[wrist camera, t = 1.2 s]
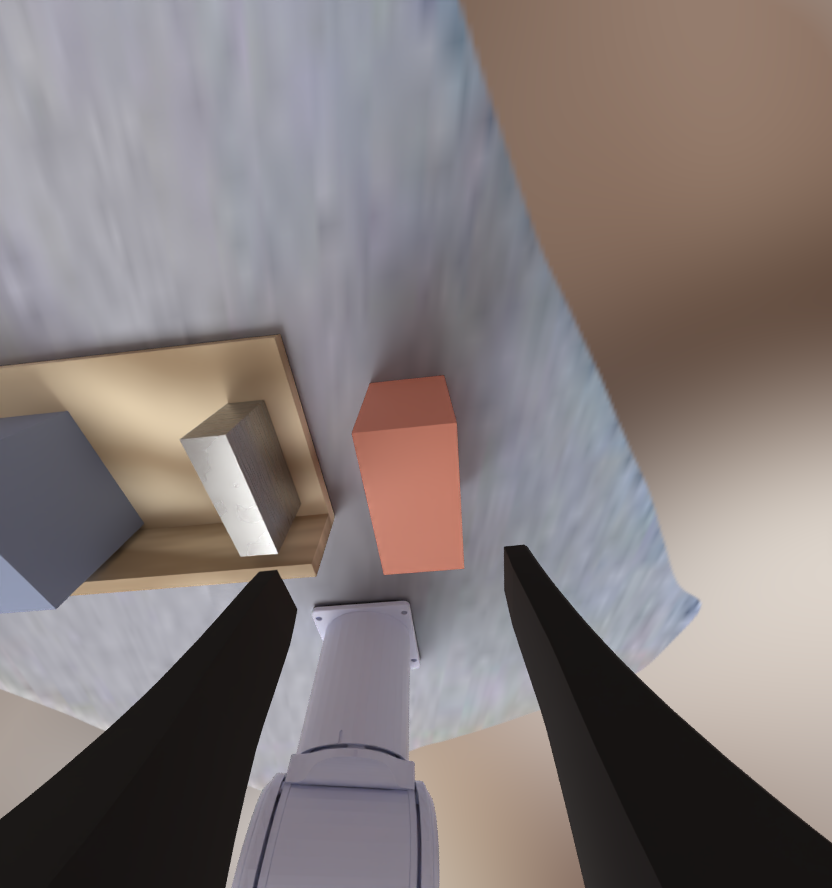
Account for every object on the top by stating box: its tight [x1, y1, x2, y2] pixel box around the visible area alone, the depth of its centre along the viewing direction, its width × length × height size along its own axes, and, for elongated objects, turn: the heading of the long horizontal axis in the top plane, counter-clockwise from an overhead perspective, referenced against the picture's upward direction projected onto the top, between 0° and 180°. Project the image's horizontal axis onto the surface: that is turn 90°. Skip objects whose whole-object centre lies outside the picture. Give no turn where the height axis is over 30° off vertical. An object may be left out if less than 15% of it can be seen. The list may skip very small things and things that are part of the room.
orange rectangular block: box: [352, 375, 464, 575], centre depth 17 cm, size 8×4×6 cm, turn 6°
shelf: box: [0, 334, 335, 596], centre depth 17 cm, size 12×22×7 cm, turn 96°
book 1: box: [0, 411, 144, 613], centre depth 17 cm, size 8×4×6 cm, turn 6°
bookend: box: [179, 400, 301, 557], centre depth 17 cm, size 7×2×4 cm, turn 6°
